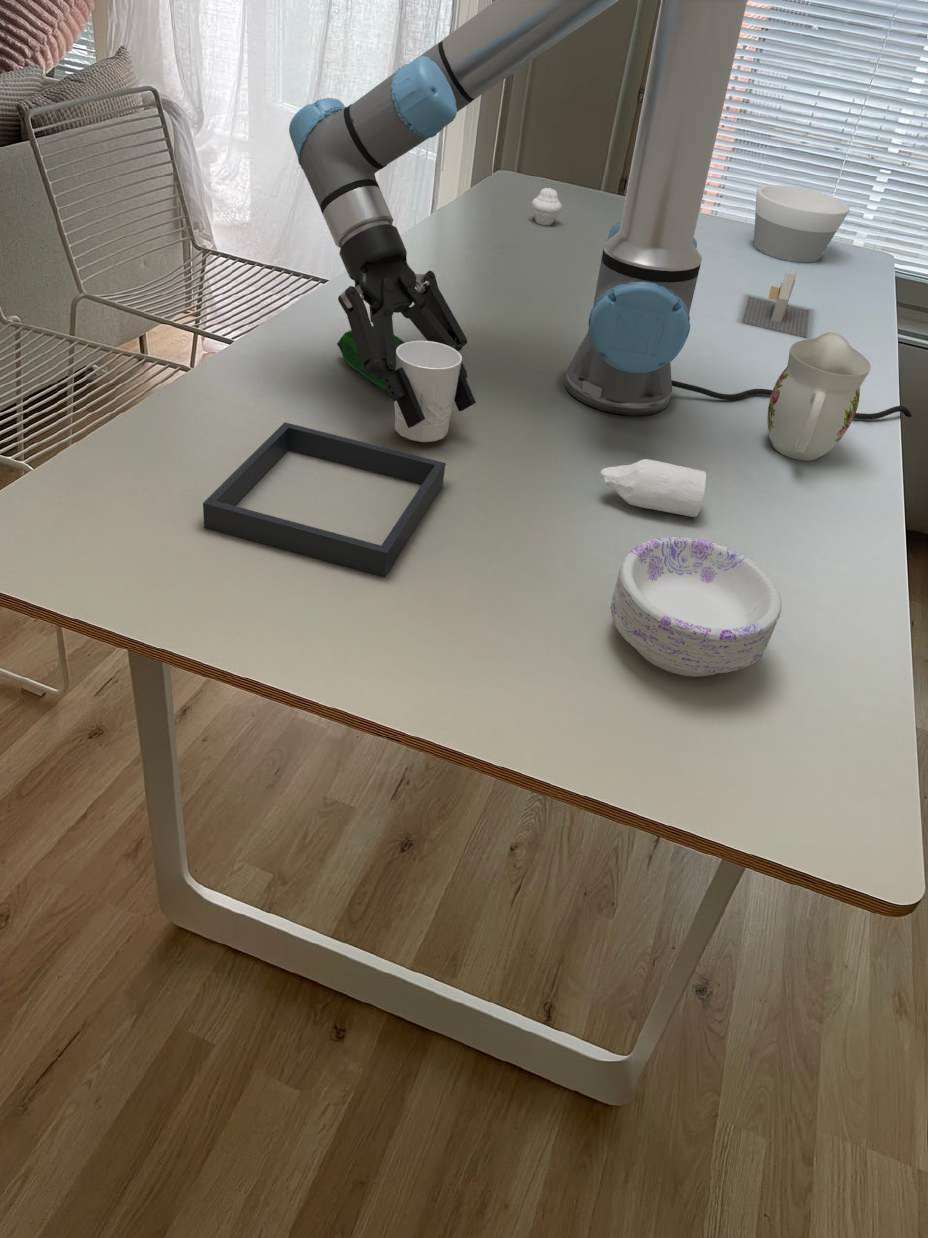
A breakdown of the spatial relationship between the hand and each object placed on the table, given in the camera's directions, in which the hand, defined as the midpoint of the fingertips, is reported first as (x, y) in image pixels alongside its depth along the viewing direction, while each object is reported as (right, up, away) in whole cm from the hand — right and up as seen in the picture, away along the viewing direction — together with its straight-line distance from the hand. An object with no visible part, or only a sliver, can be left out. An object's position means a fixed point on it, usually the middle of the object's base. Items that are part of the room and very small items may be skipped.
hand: (442, 414), depth 117 cm
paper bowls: (+24, -27, -22) cm, 43 cm away
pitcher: (+48, -2, +15) cm, 50 cm away
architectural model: (+59, +30, +57) cm, 87 cm away
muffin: (+19, +57, +84) cm, 103 cm away
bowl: (+71, +54, +90) cm, 127 cm away
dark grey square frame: (-12, -12, -10) cm, 20 cm away
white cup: (-3, -1, +4) cm, 5 cm away
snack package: (-9, +9, +17) cm, 21 cm away
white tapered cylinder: (+24, -11, -2) cm, 27 cm away
